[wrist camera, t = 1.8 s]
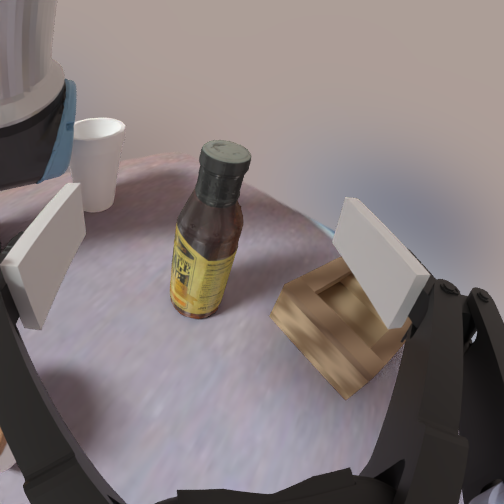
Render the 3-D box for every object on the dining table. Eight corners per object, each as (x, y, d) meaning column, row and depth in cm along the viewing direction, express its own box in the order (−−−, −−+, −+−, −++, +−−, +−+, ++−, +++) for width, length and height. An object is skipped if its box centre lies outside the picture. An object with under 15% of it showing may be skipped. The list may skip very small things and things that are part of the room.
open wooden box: (269, 316, 38) (284, 284, 34) (336, 279, 46) (353, 250, 42) (345, 400, 31) (373, 377, 27) (401, 342, 39) (425, 317, 35)
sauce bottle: (167, 282, 38) (184, 128, 25) (215, 281, 40) (252, 135, 27) (171, 325, 33) (189, 161, 20) (225, 323, 35) (273, 169, 23)
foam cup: (120, 184, 51) (123, 116, 43) (126, 214, 45) (128, 137, 37) (70, 189, 46) (66, 120, 38) (68, 221, 41) (60, 143, 32)
